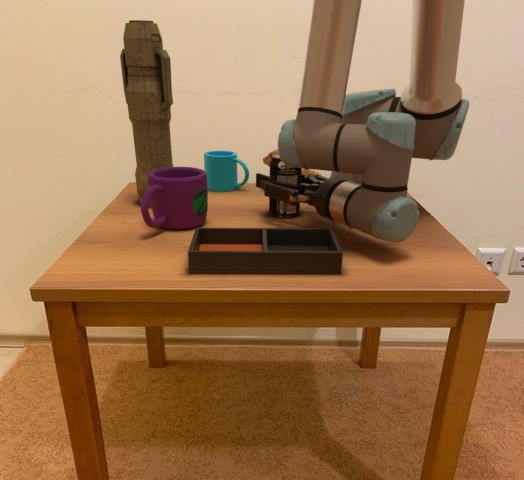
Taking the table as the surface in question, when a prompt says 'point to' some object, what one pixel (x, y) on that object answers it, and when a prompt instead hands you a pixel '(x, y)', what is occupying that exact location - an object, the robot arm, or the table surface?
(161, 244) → the table surface
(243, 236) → the tray
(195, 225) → the mug
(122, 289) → the table surface
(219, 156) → the mug
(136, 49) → the stone statue
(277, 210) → the beverage can
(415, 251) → the table surface
